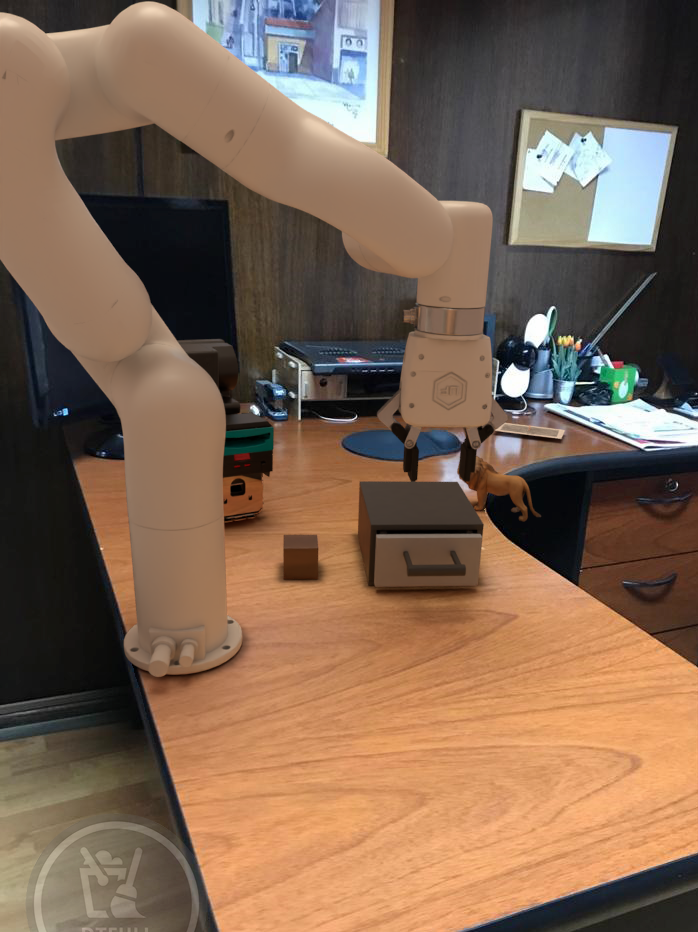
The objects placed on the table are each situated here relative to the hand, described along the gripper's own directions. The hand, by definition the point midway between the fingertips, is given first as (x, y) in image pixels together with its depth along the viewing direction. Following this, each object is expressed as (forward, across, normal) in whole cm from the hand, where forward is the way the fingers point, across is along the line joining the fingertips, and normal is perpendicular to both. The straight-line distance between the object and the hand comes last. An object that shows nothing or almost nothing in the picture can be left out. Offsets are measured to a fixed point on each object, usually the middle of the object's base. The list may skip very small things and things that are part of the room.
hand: (438, 476), depth 91 cm
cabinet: (+17, 0, +13) cm, 21 cm away
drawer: (+16, 0, +7) cm, 17 cm away
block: (+17, -16, +9) cm, 25 cm away
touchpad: (+17, +36, +78) cm, 87 cm away
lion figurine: (+17, +16, +31) cm, 38 cm away
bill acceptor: (+17, -29, +34) cm, 47 cm away
